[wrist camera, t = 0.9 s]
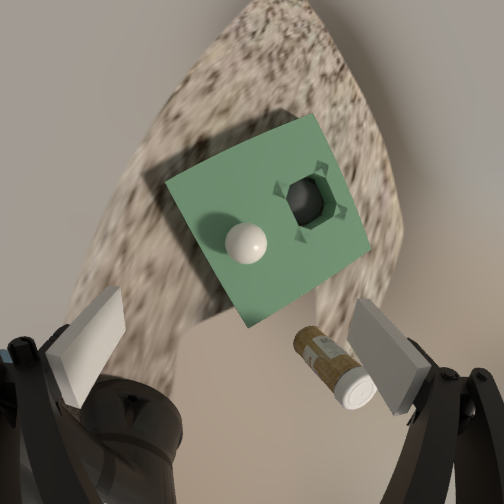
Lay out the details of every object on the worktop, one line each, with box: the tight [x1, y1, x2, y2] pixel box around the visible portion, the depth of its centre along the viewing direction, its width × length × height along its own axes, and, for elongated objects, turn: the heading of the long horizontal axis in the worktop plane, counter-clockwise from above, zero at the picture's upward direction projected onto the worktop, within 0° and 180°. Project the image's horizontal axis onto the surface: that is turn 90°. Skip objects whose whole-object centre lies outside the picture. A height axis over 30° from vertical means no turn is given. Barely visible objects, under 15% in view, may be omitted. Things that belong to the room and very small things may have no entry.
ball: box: [225, 222, 267, 264], centre depth 27 cm, size 4×4×4 cm
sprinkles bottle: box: [293, 326, 377, 410], centre depth 30 cm, size 5×5×14 cm
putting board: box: [165, 113, 371, 328], centre depth 31 cm, size 18×18×3 cm
